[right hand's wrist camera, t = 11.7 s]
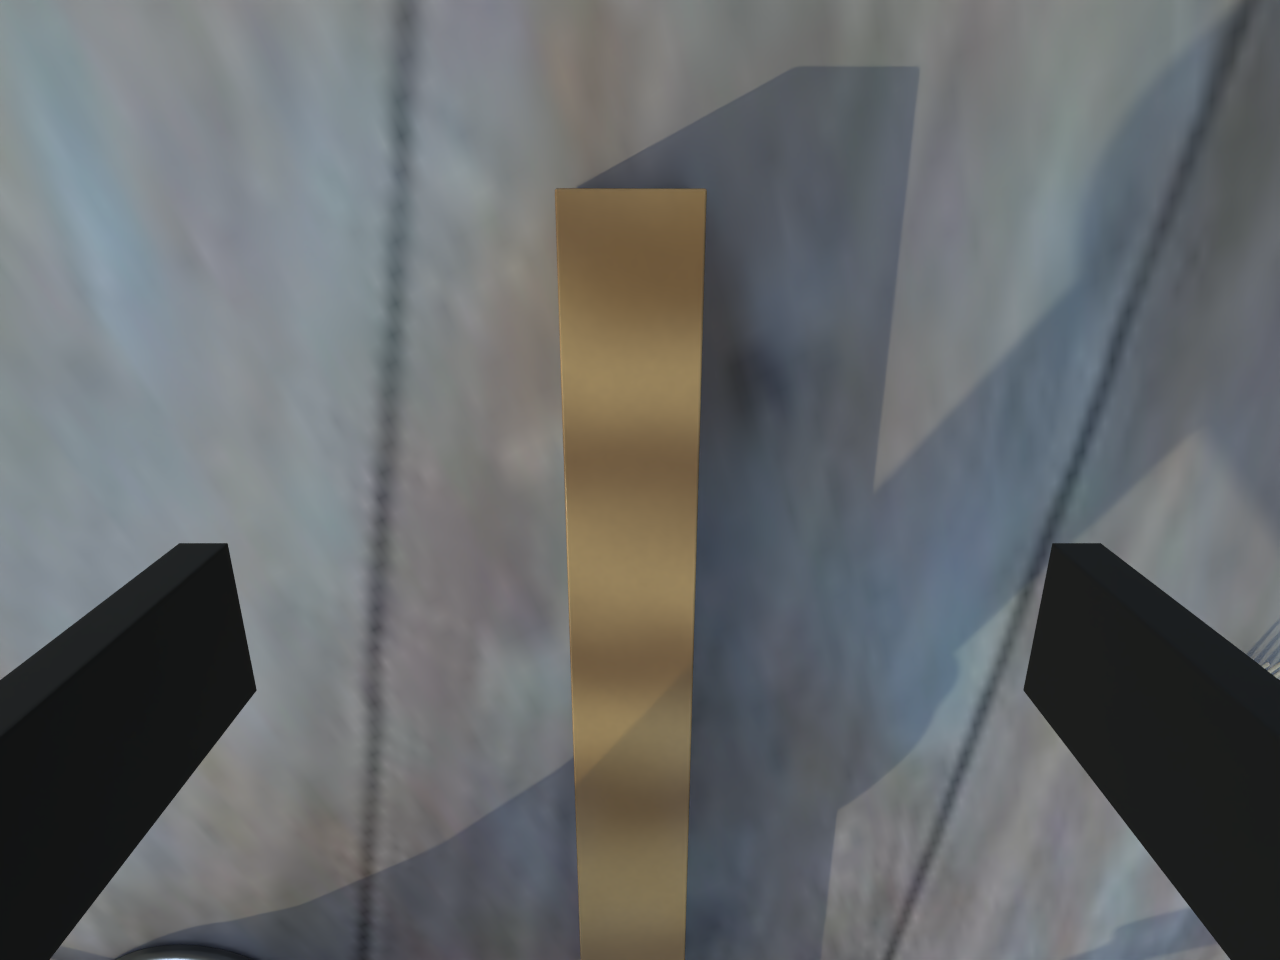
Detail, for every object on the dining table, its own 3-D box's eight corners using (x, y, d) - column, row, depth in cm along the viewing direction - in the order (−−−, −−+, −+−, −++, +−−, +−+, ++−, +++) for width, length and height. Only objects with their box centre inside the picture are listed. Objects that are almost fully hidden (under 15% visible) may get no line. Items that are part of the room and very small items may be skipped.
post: (570, 189, 34) (554, 188, 27) (691, 189, 34) (706, 188, 27) (598, 1219, 58) (593, 1359, 51) (668, 1218, 58) (673, 1358, 51)
